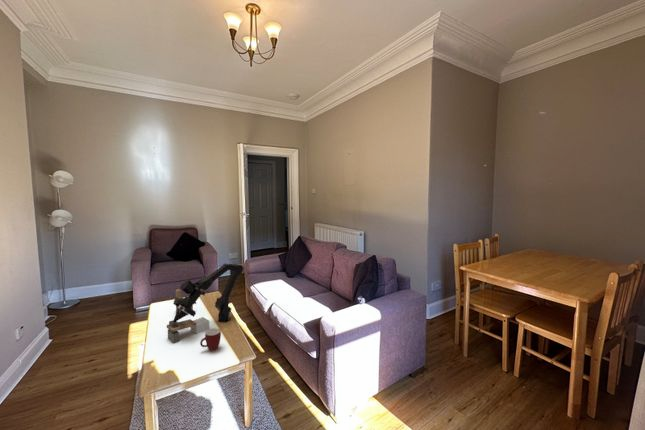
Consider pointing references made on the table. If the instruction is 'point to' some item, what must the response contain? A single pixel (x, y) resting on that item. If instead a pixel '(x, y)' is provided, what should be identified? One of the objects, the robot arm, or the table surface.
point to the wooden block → (178, 294)
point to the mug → (212, 339)
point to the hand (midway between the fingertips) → (173, 321)
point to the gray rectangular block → (200, 326)
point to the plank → (180, 325)
